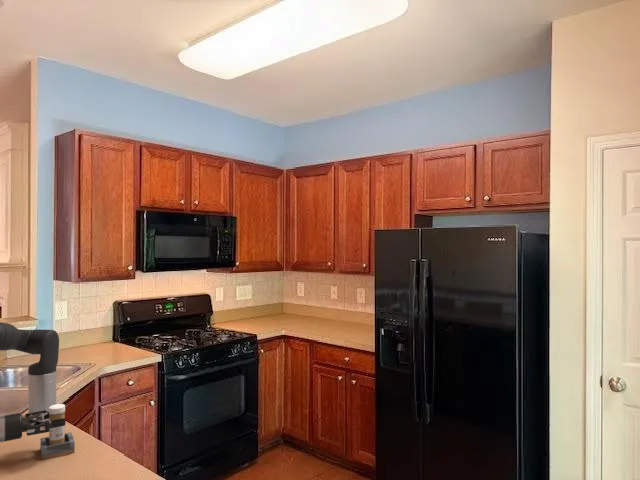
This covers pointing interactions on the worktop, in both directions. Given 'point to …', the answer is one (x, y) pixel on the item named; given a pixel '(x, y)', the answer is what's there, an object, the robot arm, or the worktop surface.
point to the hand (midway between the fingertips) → (64, 417)
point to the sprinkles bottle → (59, 432)
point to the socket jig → (57, 447)
